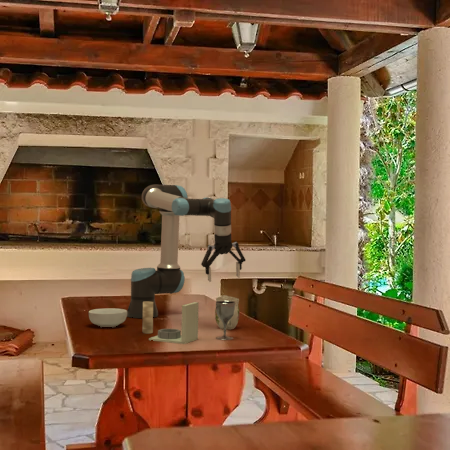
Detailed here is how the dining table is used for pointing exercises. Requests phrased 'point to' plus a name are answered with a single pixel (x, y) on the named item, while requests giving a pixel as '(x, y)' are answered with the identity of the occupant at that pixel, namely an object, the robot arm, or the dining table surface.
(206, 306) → the dining table surface
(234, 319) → the pitcher
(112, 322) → the cereal bowl
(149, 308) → the beige mottled cylinder
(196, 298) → the dining table surface
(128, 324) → the dining table surface
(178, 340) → the bracket
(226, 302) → the wine glass
